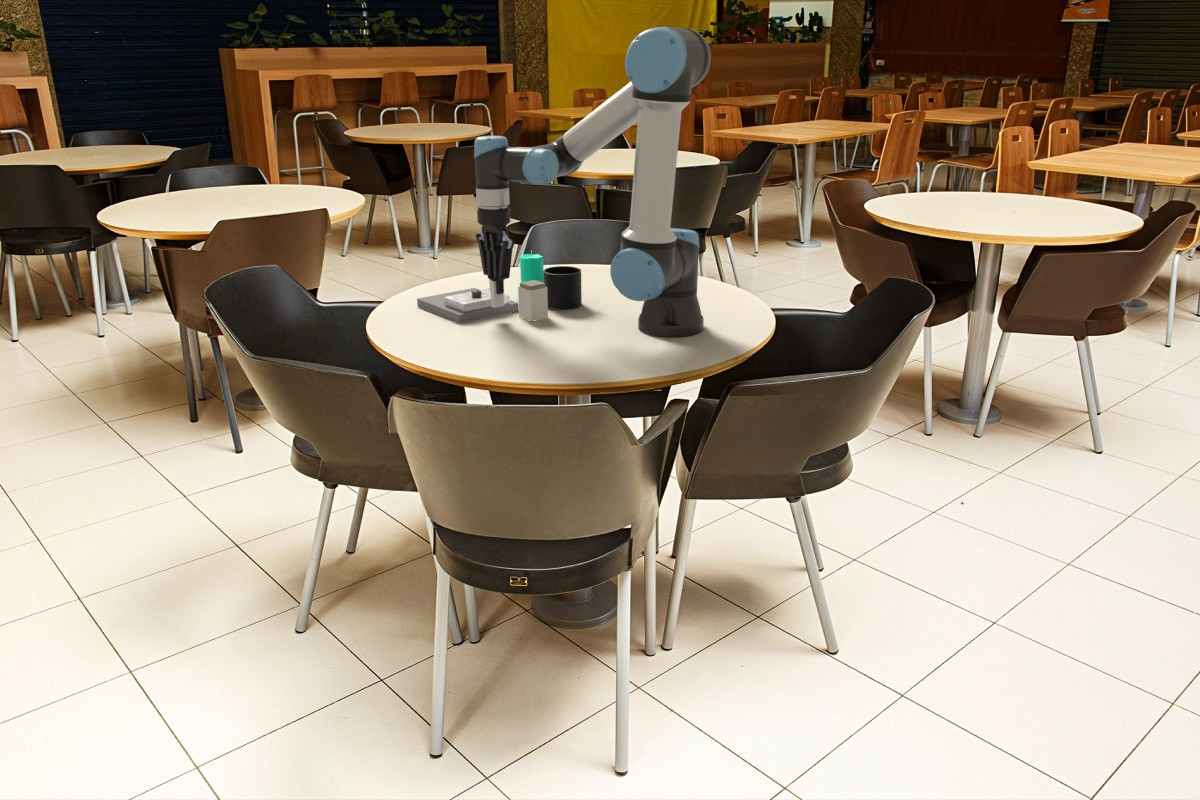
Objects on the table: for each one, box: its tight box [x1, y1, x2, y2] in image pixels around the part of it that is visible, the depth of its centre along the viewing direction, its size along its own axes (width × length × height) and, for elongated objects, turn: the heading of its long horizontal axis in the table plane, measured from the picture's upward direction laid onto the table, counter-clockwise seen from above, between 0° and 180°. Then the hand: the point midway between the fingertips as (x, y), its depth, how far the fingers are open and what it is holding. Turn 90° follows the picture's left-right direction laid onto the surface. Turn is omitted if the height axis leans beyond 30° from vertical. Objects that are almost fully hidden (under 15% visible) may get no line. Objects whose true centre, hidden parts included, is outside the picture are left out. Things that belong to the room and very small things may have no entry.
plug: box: [517, 280, 549, 322], centre depth 223 cm, size 5×5×8 cm
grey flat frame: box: [416, 287, 519, 324], centre depth 231 cm, size 20×17×2 cm
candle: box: [519, 250, 544, 283], centre depth 241 cm, size 6×6×12 cm
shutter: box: [444, 288, 510, 312], centre depth 227 cm, size 9×13×3 cm
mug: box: [543, 265, 583, 311], centre depth 234 cm, size 9×12×9 cm
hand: (497, 306), depth 220 cm, fingers closed
